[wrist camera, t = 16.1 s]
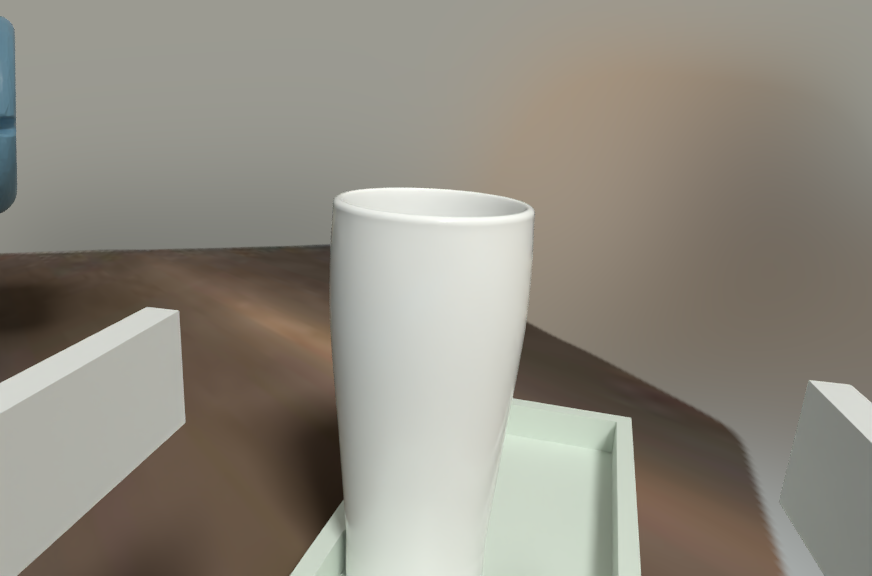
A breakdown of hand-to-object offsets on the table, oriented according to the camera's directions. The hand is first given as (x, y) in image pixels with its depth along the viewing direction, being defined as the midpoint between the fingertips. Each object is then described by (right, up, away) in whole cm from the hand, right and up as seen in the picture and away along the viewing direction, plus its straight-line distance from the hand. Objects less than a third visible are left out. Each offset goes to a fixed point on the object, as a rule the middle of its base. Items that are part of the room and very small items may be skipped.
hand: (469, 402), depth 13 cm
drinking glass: (-2, -9, +12) cm, 15 cm away
